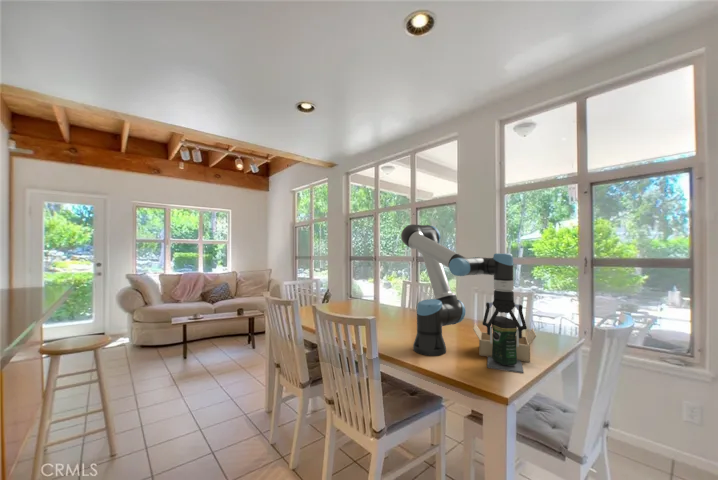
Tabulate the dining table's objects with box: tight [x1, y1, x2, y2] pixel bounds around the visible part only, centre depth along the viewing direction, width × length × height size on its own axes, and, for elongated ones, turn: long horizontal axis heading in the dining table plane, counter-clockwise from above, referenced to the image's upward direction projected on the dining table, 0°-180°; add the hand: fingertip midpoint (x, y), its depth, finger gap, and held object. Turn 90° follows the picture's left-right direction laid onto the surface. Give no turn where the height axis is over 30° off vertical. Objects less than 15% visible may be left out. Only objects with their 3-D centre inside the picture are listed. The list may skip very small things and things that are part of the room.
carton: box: [473, 322, 537, 363], centre depth 140 cm, size 25×15×11 cm, turn 66°
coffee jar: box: [491, 315, 518, 366], centre depth 127 cm, size 10×8×19 cm
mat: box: [486, 356, 524, 374], centre depth 126 cm, size 13×13×1 cm
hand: (504, 344), depth 126 cm, fingers open, 9 cm apart
